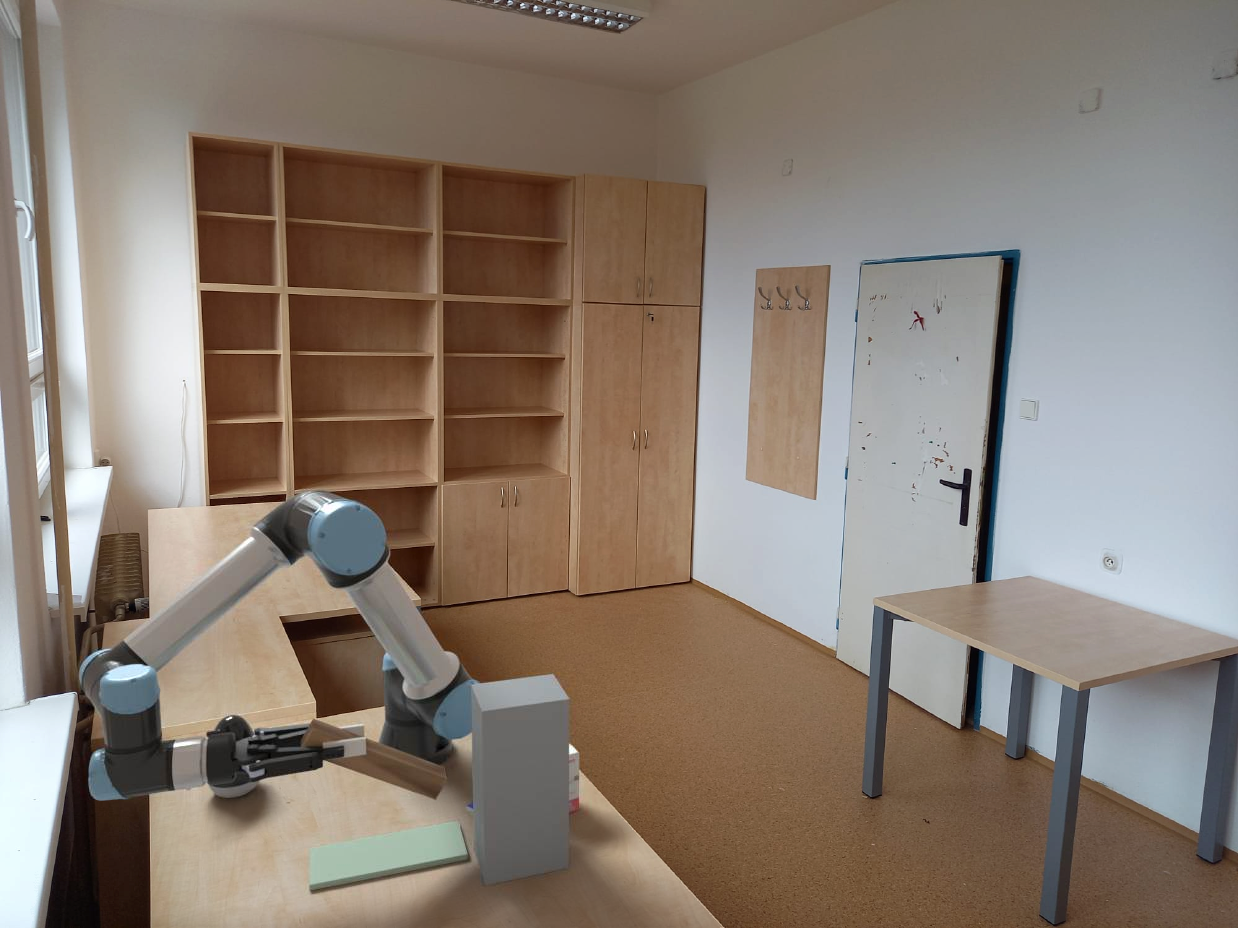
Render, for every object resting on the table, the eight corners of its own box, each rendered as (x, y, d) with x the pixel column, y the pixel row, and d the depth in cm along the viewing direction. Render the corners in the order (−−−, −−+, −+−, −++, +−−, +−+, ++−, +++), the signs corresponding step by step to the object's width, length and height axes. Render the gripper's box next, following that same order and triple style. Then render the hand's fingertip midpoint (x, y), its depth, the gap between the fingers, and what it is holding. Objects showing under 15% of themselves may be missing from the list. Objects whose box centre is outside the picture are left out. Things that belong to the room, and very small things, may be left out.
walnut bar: (300, 739, 138) (313, 718, 138) (432, 787, 147) (444, 766, 147) (300, 751, 134) (313, 729, 134) (435, 799, 143) (447, 778, 143)
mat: (310, 852, 144) (309, 847, 144) (458, 825, 152) (458, 820, 152) (309, 890, 135) (309, 884, 135) (467, 859, 143) (467, 853, 143)
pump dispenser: (193, 797, 160) (187, 722, 157) (238, 771, 169) (233, 699, 167) (232, 811, 156) (226, 734, 153) (276, 783, 165) (272, 710, 162)
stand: (473, 848, 146) (471, 684, 141) (553, 833, 150) (553, 673, 145) (484, 885, 137) (482, 711, 131) (568, 867, 141) (569, 698, 136)
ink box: (569, 797, 162) (569, 739, 160) (580, 810, 158) (580, 751, 155) (526, 809, 158) (526, 750, 156) (537, 823, 153) (537, 762, 151)
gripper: (214, 755, 140) (363, 735, 148) (202, 812, 124) (368, 786, 132) (212, 713, 139) (361, 695, 146) (198, 765, 123) (367, 741, 131)
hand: (364, 738), depth 139 cm, fingers closed on walnut bar, 4 cm apart
